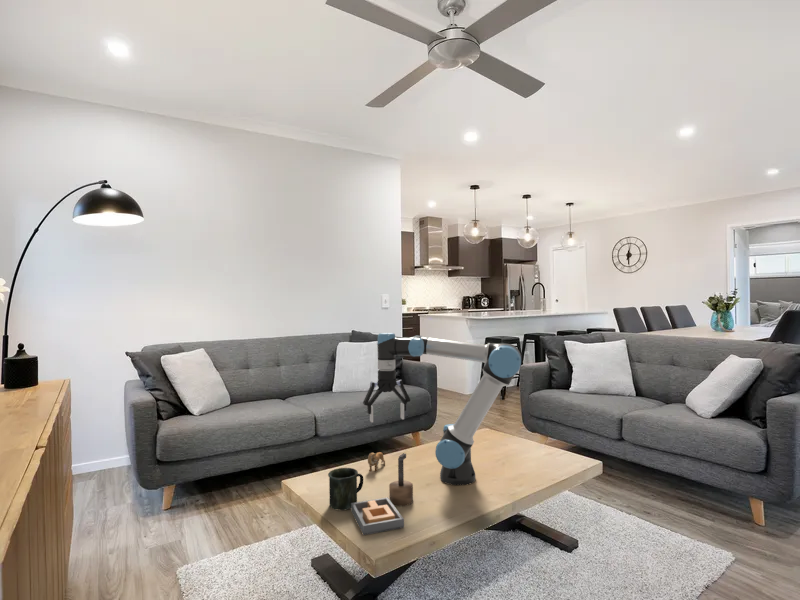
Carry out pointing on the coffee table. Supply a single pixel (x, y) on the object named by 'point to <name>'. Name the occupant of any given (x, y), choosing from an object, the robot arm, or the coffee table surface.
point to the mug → (343, 487)
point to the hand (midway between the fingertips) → (387, 420)
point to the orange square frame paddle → (377, 513)
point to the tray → (377, 526)
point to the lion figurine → (375, 460)
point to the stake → (401, 487)
